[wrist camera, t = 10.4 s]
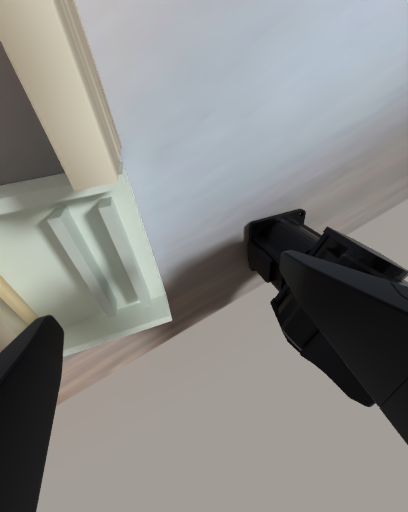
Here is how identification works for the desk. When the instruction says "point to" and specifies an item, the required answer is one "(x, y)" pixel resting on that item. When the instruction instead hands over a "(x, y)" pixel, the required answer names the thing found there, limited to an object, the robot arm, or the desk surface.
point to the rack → (81, 258)
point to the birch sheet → (63, 86)
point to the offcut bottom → (16, 302)
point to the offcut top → (9, 324)
